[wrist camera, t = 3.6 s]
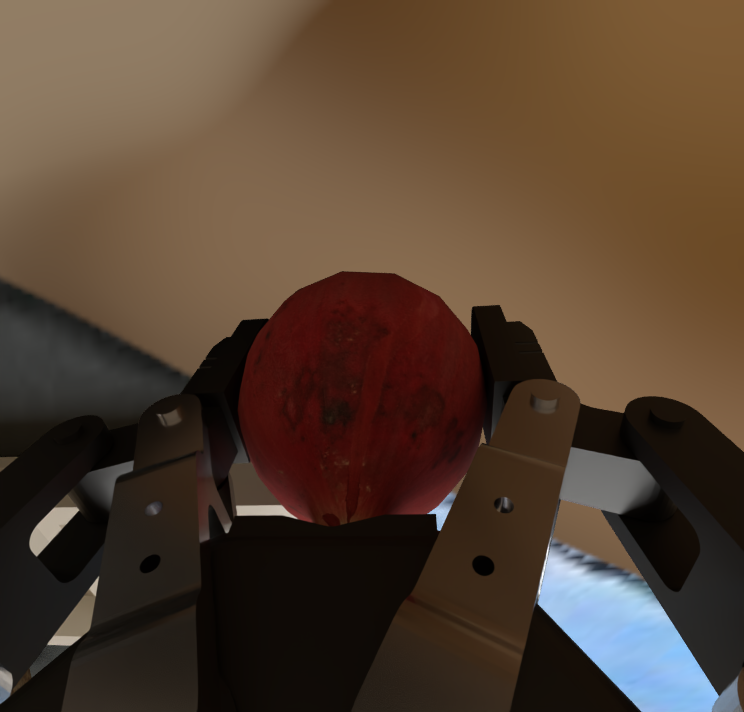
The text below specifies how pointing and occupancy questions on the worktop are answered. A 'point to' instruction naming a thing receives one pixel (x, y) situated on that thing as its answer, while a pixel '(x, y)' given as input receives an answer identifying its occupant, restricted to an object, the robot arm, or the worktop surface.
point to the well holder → (249, 501)
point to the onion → (362, 399)
